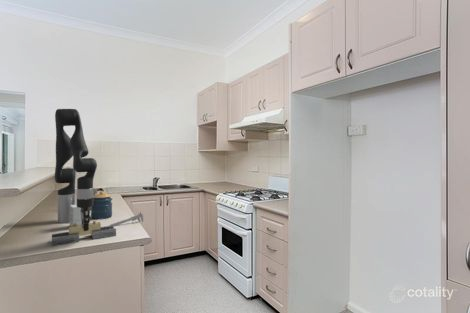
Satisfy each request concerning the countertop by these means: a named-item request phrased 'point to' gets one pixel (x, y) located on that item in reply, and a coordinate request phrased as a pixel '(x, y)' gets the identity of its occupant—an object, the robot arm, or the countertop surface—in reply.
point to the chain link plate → (79, 230)
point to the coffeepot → (95, 193)
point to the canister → (101, 206)
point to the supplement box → (75, 215)
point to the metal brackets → (66, 238)
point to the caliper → (129, 219)
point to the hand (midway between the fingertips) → (85, 228)
